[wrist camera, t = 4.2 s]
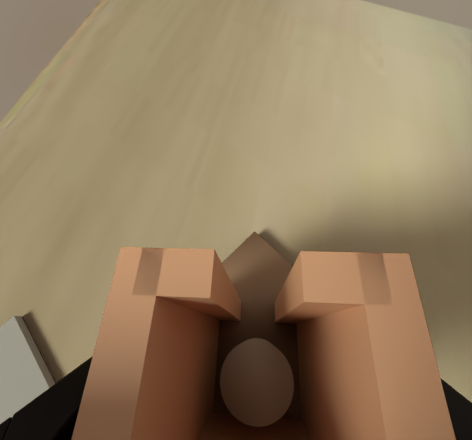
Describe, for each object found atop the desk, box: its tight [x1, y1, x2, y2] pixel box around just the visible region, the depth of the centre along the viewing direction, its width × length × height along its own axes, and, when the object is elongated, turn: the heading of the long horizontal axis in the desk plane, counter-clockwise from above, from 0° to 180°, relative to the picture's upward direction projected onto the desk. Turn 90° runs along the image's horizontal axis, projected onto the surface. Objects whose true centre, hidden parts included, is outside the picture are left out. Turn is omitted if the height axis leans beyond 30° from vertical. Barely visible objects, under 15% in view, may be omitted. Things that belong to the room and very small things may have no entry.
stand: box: [213, 232, 301, 427], centre depth 10 cm, size 10×10×5 cm
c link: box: [71, 247, 456, 440], centre depth 8 cm, size 6×6×9 cm
